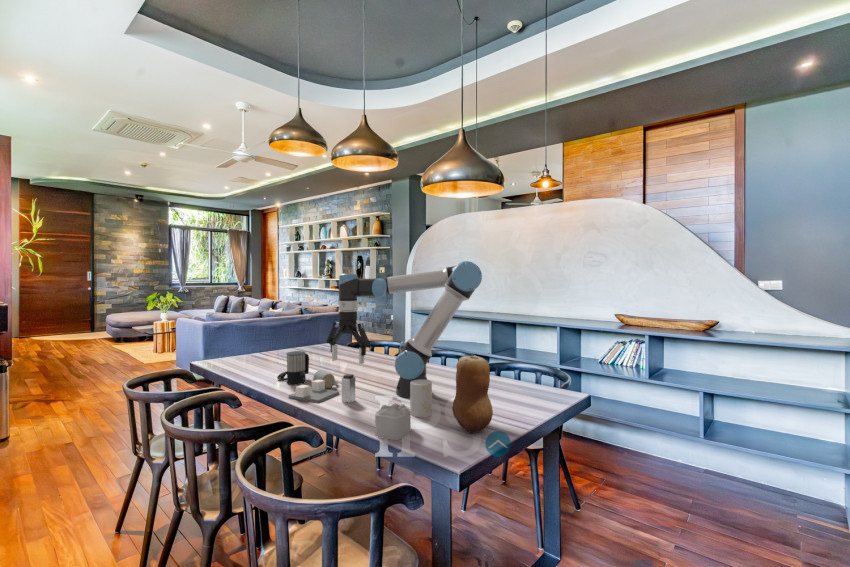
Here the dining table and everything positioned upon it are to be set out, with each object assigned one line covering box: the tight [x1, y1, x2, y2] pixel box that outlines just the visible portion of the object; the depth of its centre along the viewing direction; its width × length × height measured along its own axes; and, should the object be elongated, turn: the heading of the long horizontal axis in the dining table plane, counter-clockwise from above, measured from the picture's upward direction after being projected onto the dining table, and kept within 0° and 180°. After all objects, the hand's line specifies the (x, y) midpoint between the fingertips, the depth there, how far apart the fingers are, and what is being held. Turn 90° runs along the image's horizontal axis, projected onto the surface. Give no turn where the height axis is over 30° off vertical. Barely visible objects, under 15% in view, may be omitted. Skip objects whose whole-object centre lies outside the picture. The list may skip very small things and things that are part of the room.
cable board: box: [288, 380, 340, 404], centre depth 181 cm, size 16×14×5 cm
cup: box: [409, 379, 433, 418], centre depth 157 cm, size 8×8×12 cm
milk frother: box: [276, 350, 310, 385], centre depth 206 cm, size 14×16×15 cm
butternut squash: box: [452, 355, 494, 434], centre depth 140 cm, size 14×13×25 cm
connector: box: [341, 373, 356, 404], centre depth 173 cm, size 4×4×11 cm
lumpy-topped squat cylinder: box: [374, 403, 412, 441], centre depth 139 cm, size 10×13×9 cm
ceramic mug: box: [312, 369, 339, 390], centre depth 196 cm, size 11×8×8 cm
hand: (347, 362), depth 173 cm, fingers open, 13 cm apart
